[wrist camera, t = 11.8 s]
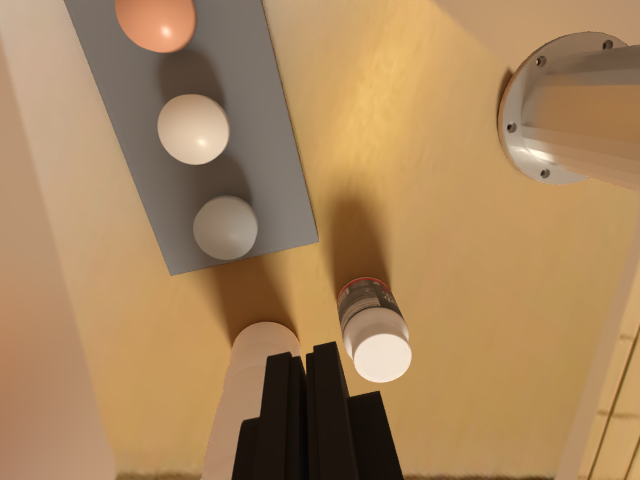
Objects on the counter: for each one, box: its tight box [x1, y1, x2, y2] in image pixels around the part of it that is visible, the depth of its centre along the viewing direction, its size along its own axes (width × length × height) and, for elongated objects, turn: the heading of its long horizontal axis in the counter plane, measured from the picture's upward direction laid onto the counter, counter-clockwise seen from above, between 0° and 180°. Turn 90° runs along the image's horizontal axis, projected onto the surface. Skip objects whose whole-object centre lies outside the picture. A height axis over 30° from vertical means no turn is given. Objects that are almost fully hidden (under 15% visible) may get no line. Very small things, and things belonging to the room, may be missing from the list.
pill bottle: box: [337, 277, 412, 382], centre depth 37 cm, size 6×6×10 cm
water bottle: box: [200, 322, 301, 480], centre depth 32 cm, size 7×7×25 cm
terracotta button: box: [115, 0, 198, 54], centre depth 28 cm, size 5×5×2 cm
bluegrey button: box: [193, 195, 258, 260], centre depth 34 cm, size 5×5×2 cm
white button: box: [158, 94, 231, 165], centre depth 31 cm, size 5×5×2 cm
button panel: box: [64, 0, 319, 276], centre depth 34 cm, size 14×24×3 cm, turn 13°
